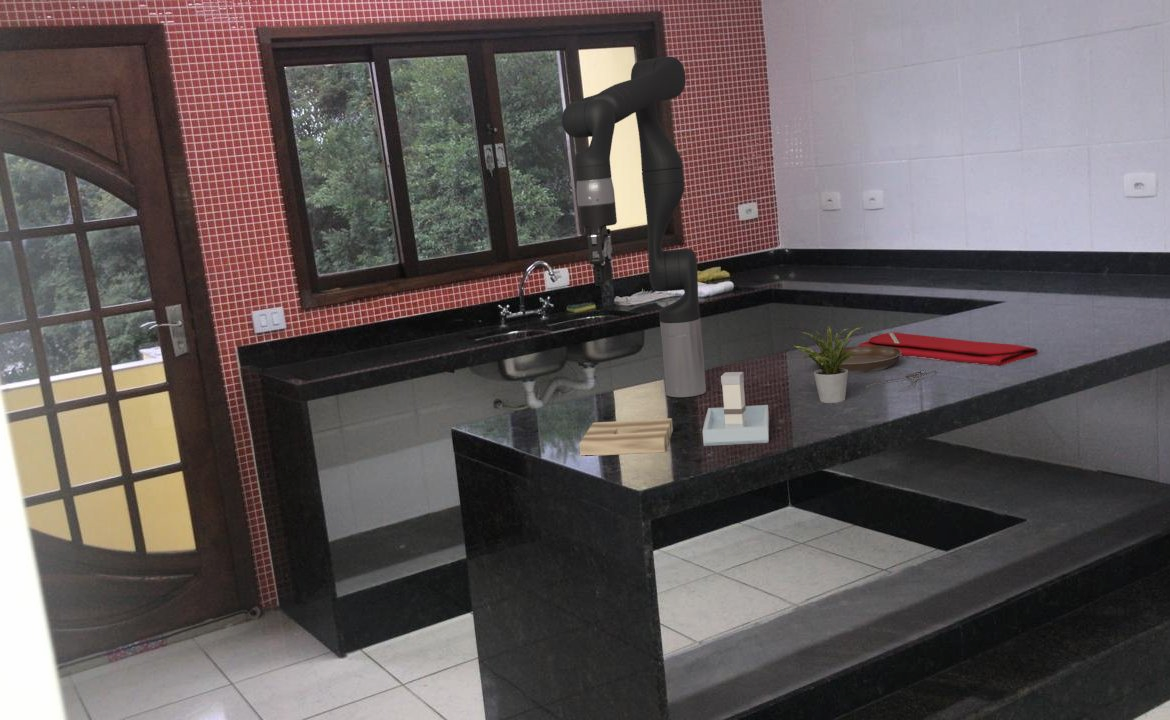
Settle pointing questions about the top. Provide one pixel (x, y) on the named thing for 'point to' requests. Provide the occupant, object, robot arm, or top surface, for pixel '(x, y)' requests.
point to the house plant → (830, 366)
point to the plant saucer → (869, 358)
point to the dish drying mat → (952, 348)
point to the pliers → (903, 378)
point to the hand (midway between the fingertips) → (603, 282)
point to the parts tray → (743, 435)
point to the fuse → (734, 399)
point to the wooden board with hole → (627, 437)
